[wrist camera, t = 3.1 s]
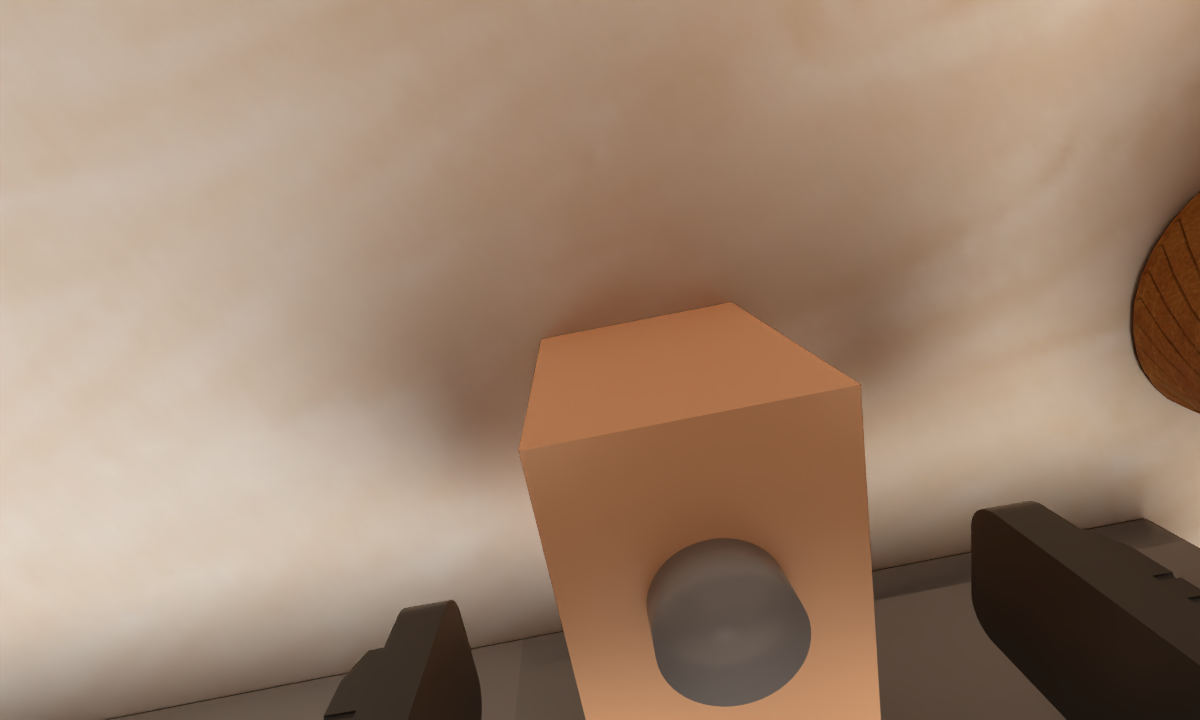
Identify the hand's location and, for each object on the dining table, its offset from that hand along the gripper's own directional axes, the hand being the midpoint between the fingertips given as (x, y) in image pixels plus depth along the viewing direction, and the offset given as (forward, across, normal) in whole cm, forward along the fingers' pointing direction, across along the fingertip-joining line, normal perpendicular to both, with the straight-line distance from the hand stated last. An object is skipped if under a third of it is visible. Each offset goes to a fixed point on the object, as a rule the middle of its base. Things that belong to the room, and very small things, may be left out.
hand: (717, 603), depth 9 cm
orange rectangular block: (+5, 0, -1) cm, 5 cm away
